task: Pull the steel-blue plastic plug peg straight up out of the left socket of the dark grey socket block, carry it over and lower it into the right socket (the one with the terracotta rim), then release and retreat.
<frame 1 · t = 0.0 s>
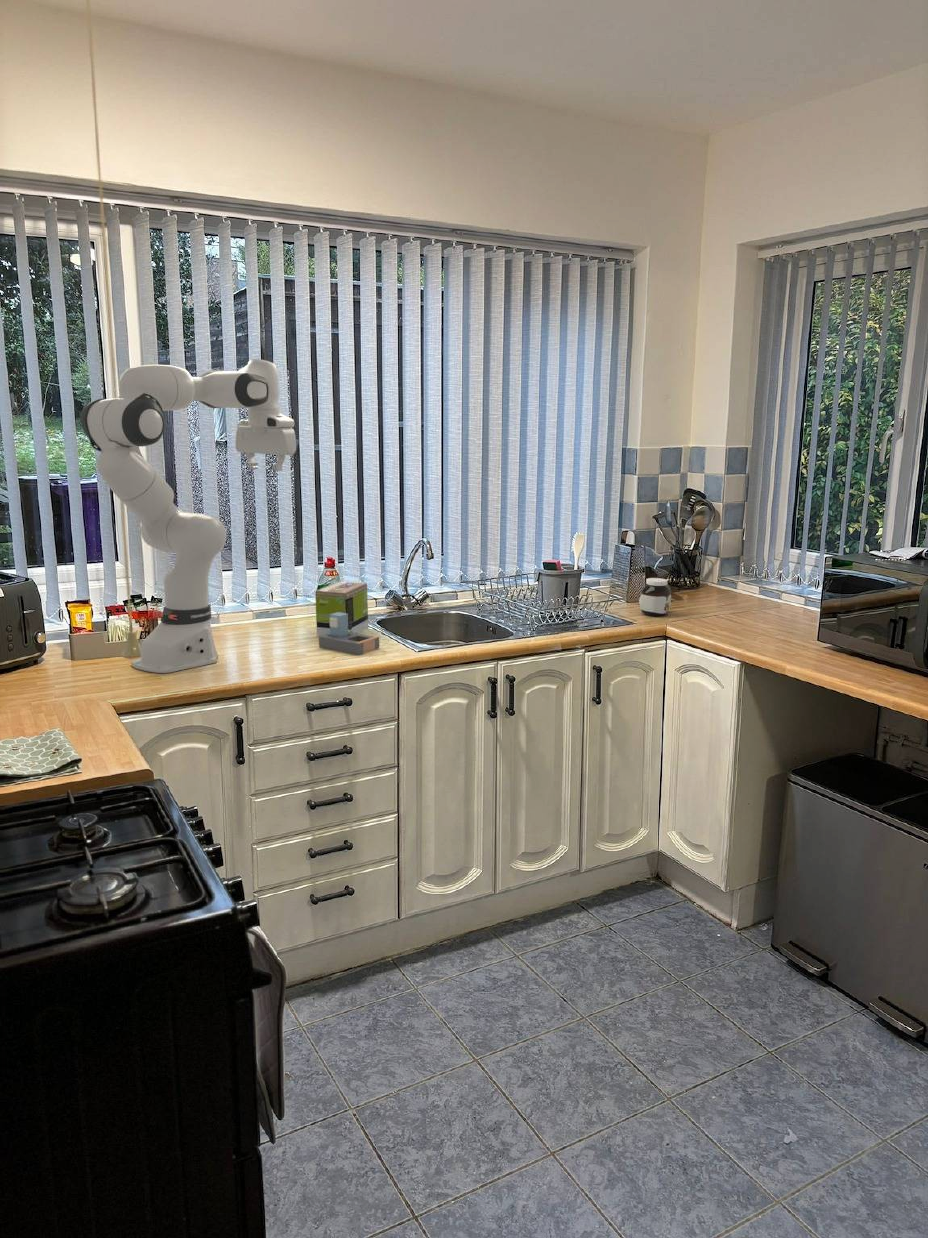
hand: (265, 470, 264), 48 cm above the counter, fingers open, 8 cm apart
plug peg: (339, 645, 260), point 1 cm above the counter, touching socket block
spread jar: (651, 613, 311), on the counter
tea box: (342, 635, 276), on the counter
socket block: (349, 650, 258), on the counter
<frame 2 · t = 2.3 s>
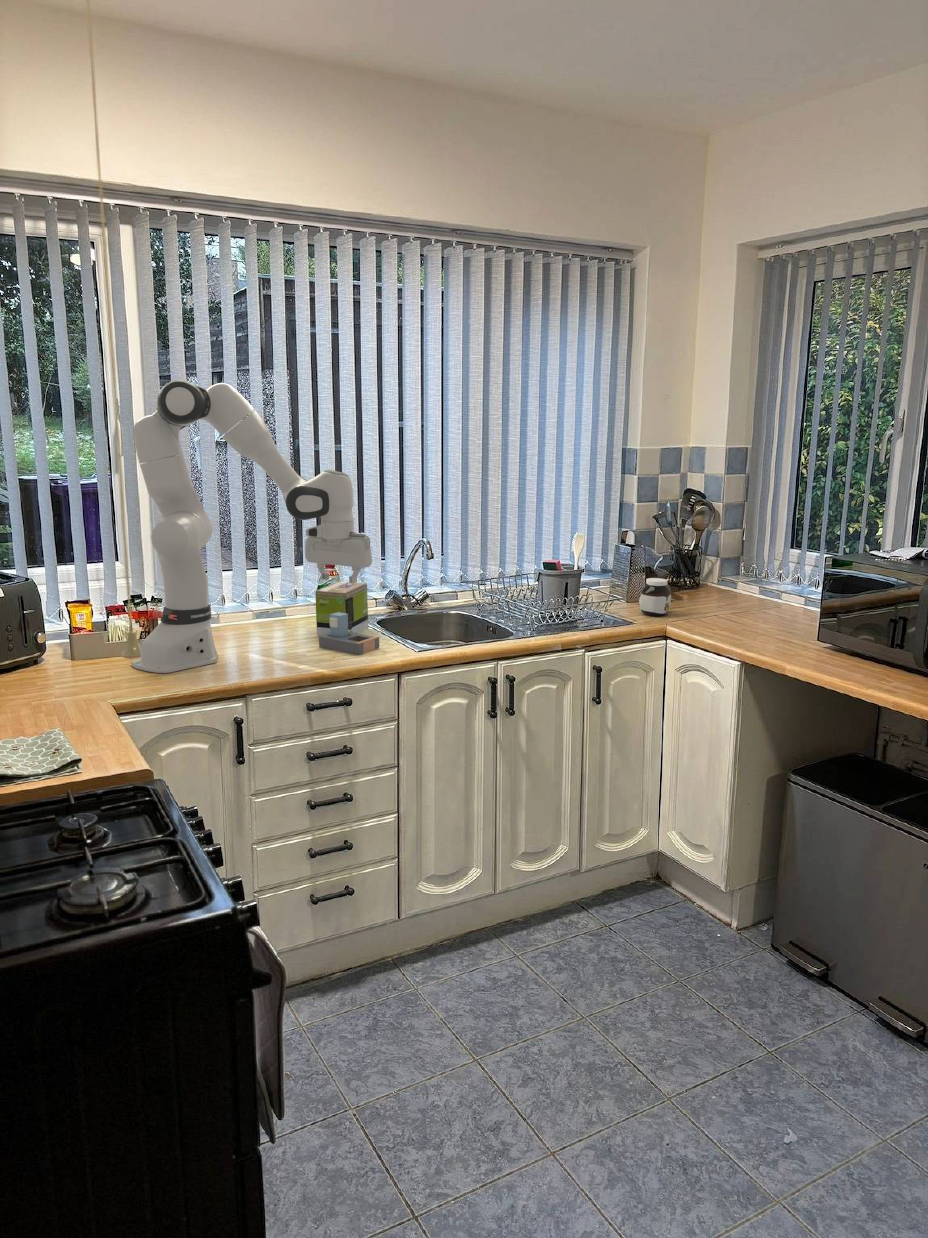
hand: (339, 581, 256), 19 cm above the counter, fingers open, 8 cm apart
nothing on the counter moved.
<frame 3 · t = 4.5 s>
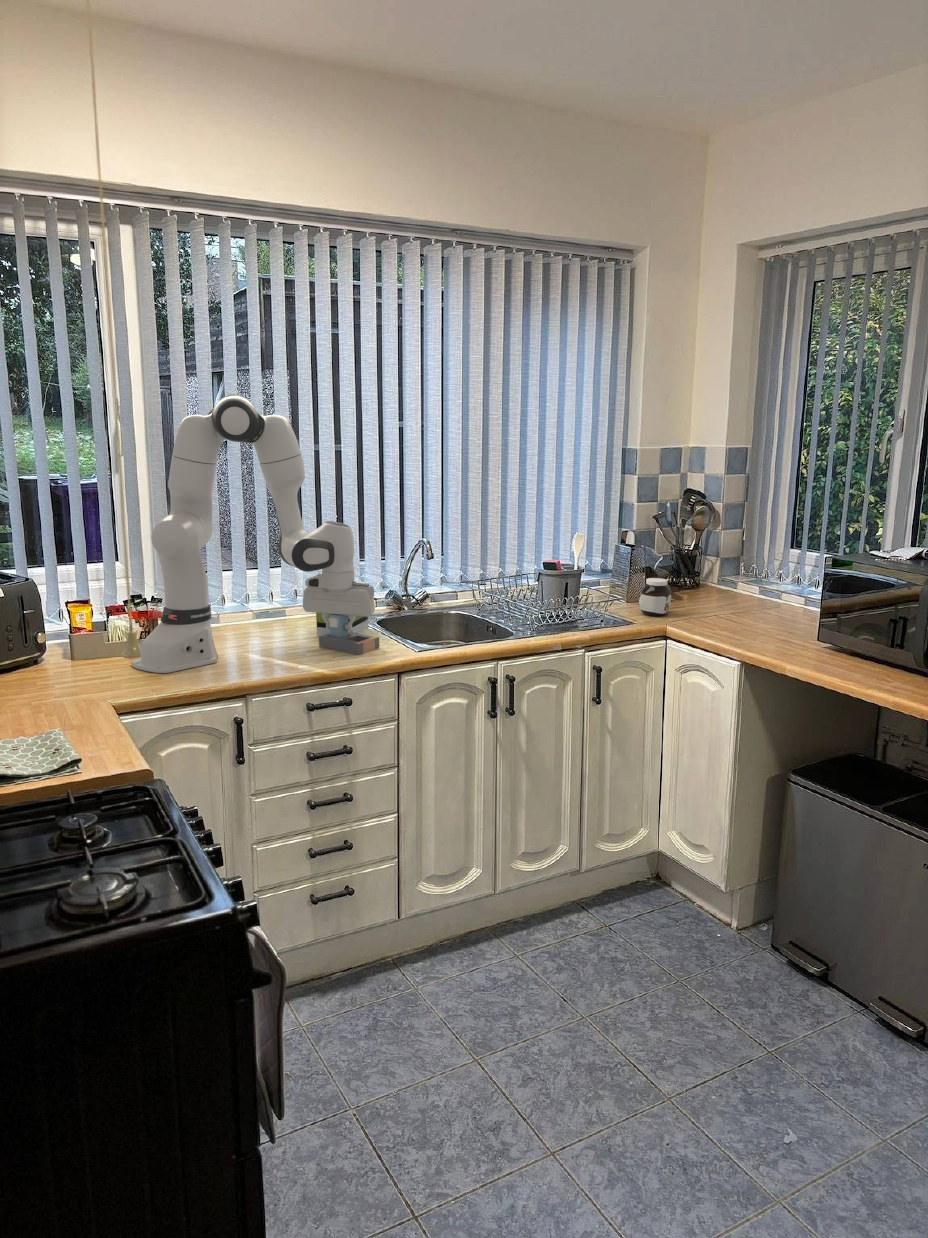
hand: (339, 629, 259), 6 cm above the counter, fingers closed on plug peg, 4 cm apart
plug peg: (339, 645, 260), point 1 cm above the counter, touching gripper, socket block
everything else where it was.
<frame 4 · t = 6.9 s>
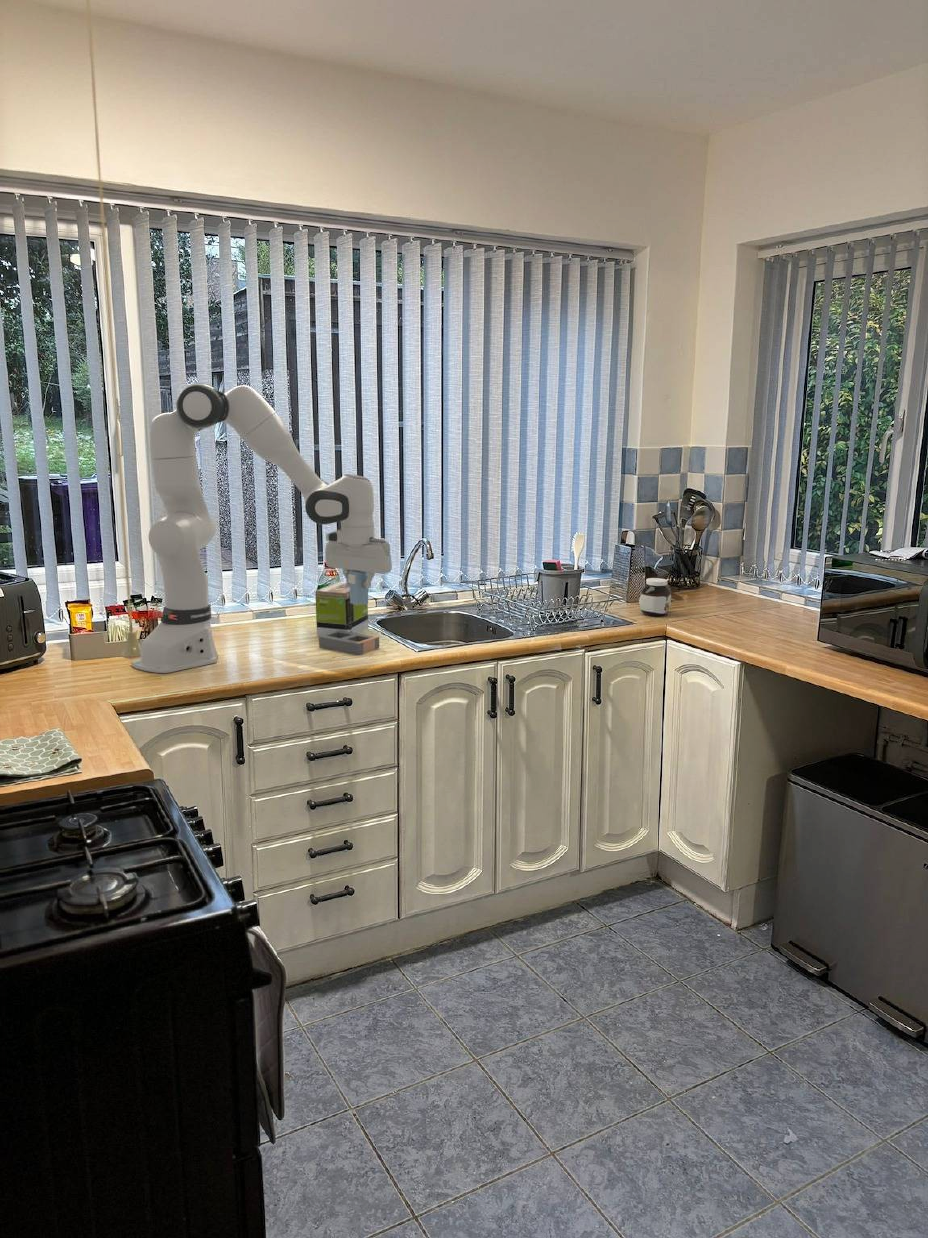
hand: (358, 586, 252), 19 cm above the counter, fingers closed on plug peg, 4 cm apart
plug peg: (359, 603, 253), point 14 cm above the counter, touching gripper
everything else where it was.
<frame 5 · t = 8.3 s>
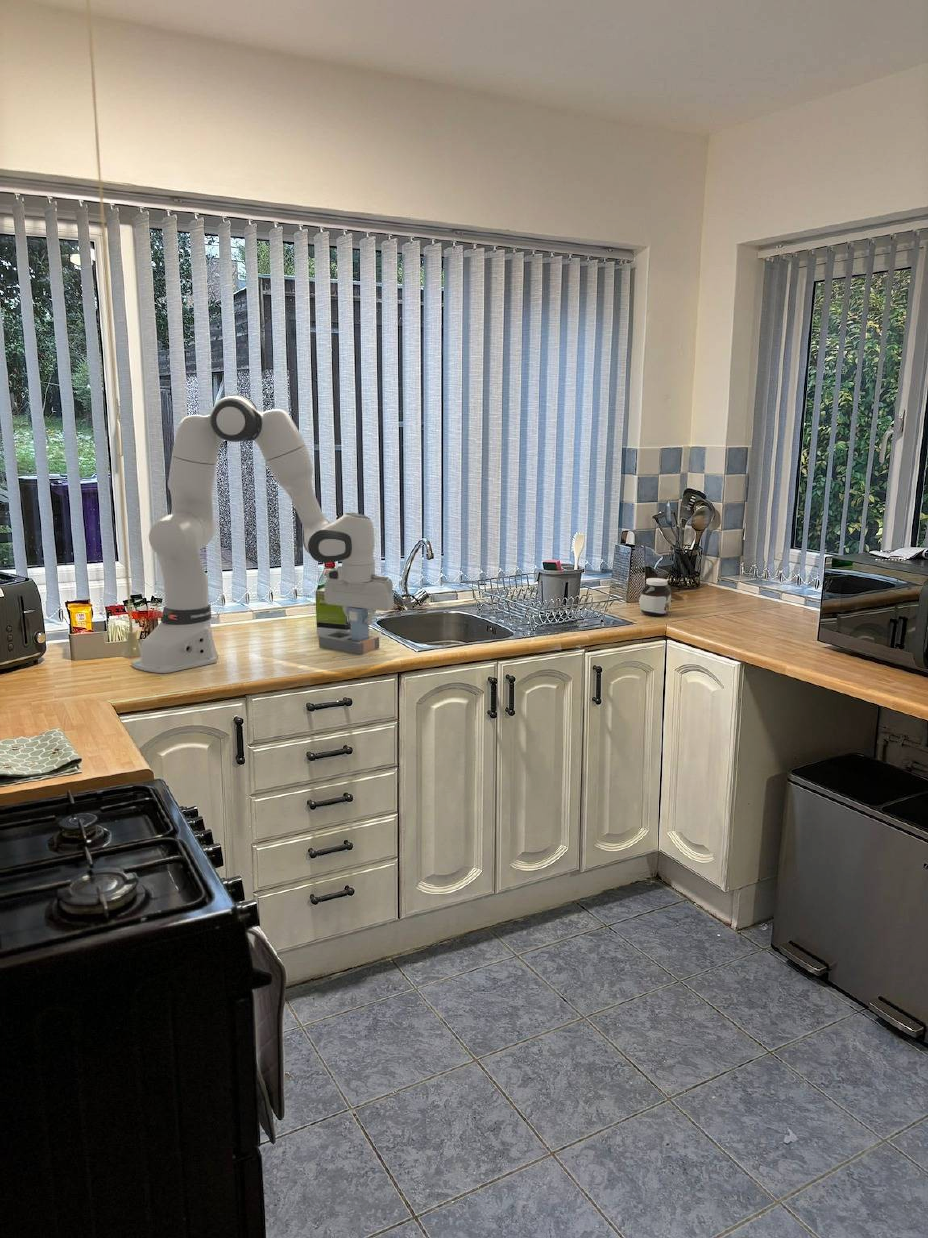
hand: (359, 623, 255), 8 cm above the counter, fingers closed on plug peg, 4 cm apart
plug peg: (359, 639, 256), point 4 cm above the counter, touching gripper
everything else where it was.
when the fingers open (7 cm above the counter, at t = 9.3 s): plug peg stays where it is, resting on socket block.
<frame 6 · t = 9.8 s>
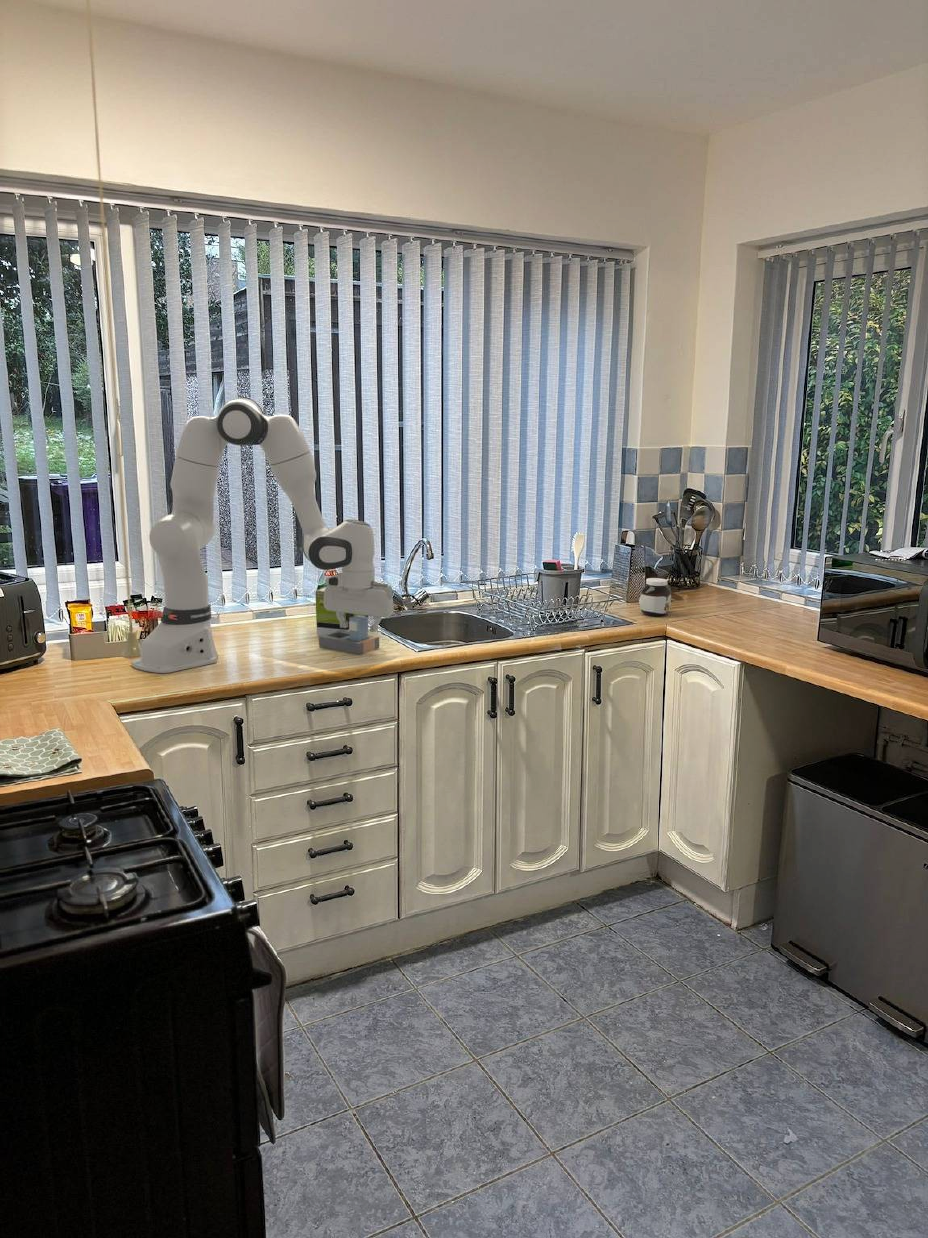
hand: (358, 629, 255), 7 cm above the counter, fingers open, 8 cm apart
plug peg: (359, 649, 256), point 1 cm above the counter, touching socket block
everything else where it was.
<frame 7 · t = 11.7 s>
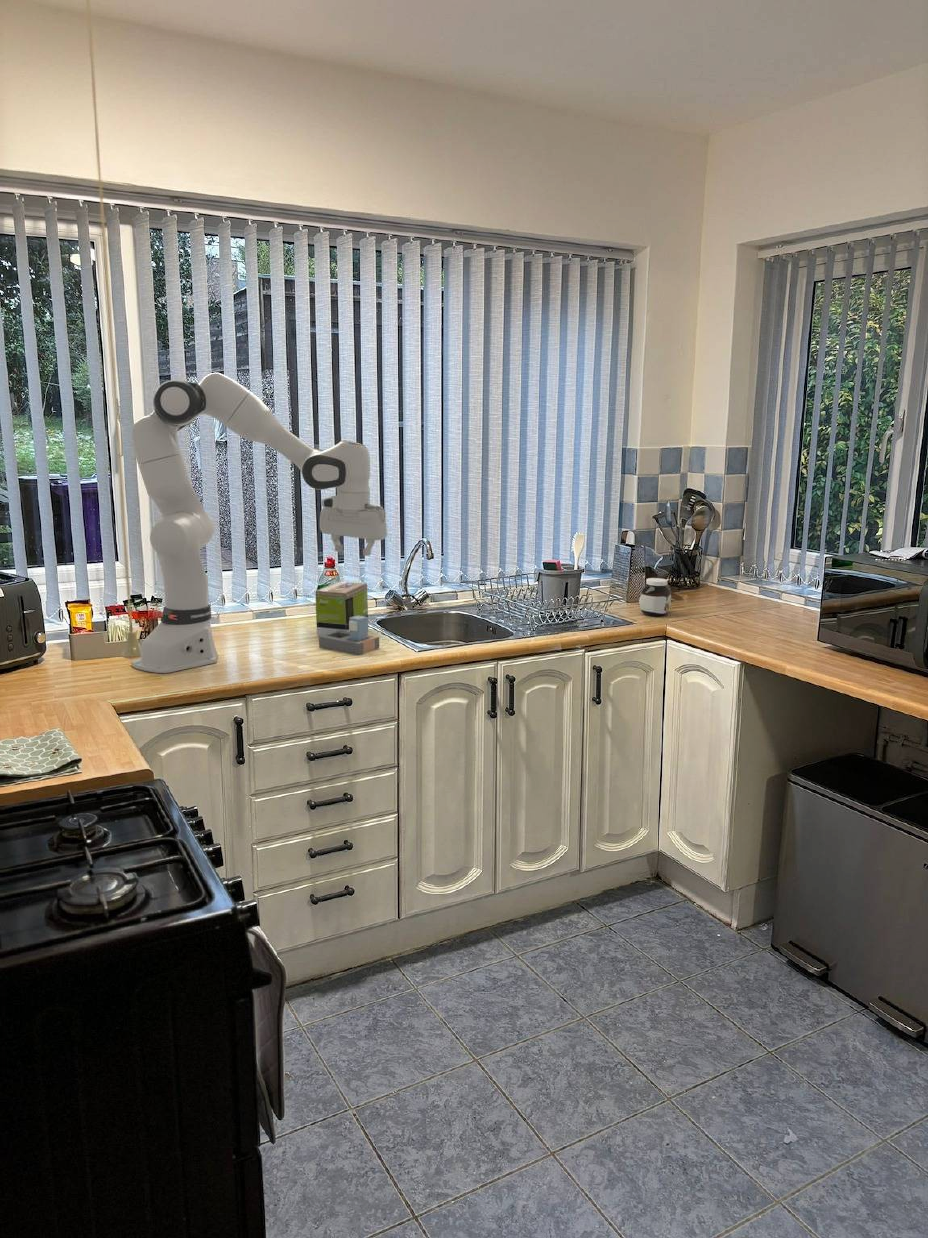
hand: (352, 553, 254), 27 cm above the counter, fingers open, 8 cm apart
nothing on the counter moved.
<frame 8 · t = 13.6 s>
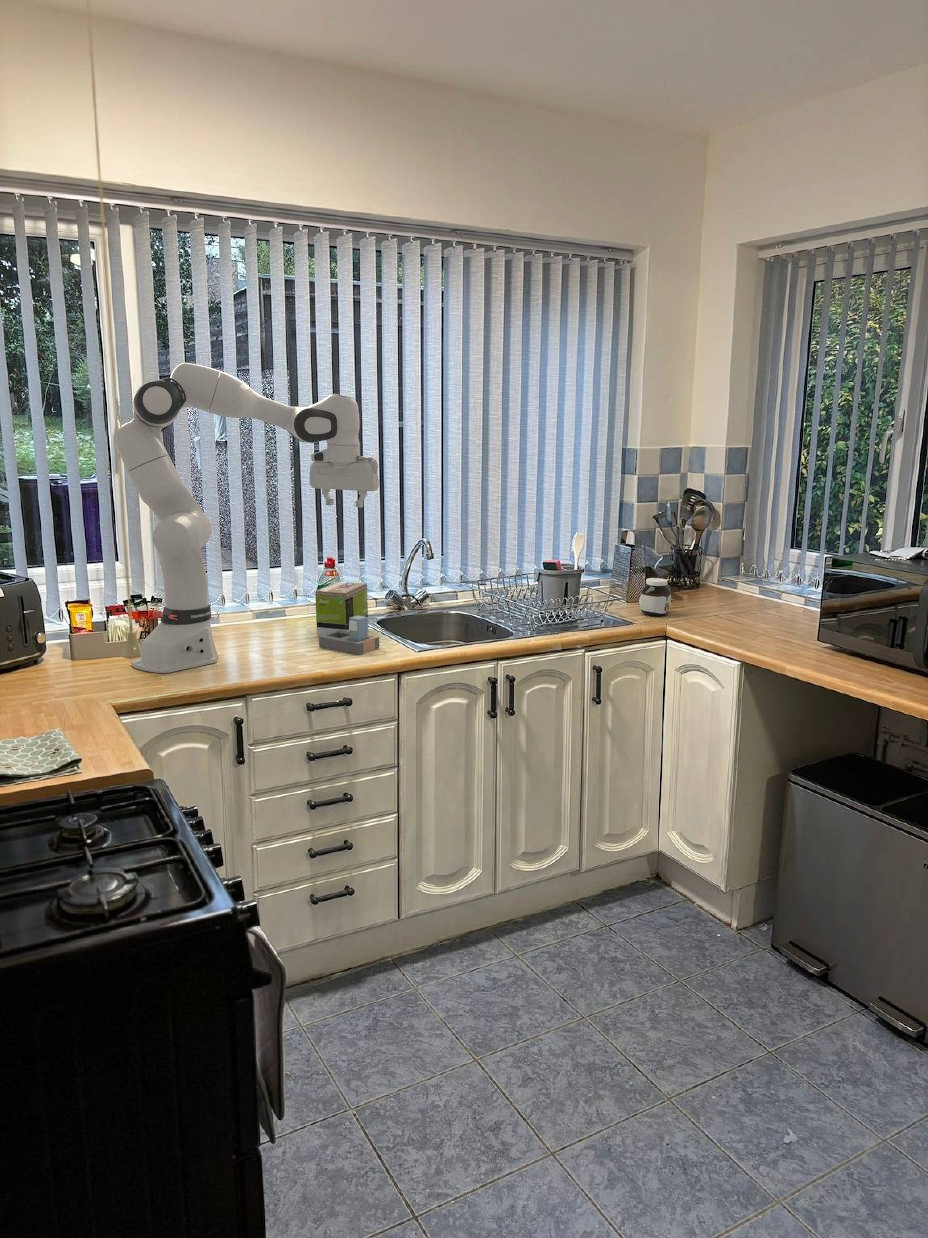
hand: (344, 506, 258), 39 cm above the counter, fingers open, 8 cm apart
nothing on the counter moved.
at the end: plug peg 0.1 cm from the target spot on the socket block, point 1.0 cm above the socket block's base; plug peg tilted 0°; the gripper is holding nothing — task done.
